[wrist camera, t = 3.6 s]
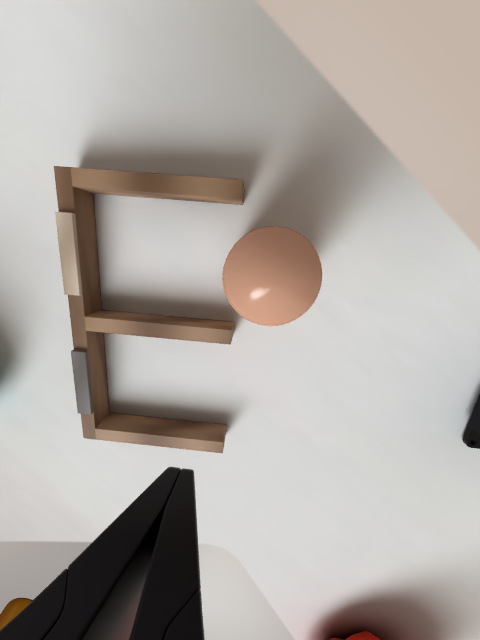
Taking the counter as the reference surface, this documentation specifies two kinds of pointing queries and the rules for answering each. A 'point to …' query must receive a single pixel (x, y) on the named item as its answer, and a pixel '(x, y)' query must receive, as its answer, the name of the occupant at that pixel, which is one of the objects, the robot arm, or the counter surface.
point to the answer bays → (93, 321)
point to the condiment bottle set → (13, 610)
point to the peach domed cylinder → (272, 276)
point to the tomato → (360, 636)
